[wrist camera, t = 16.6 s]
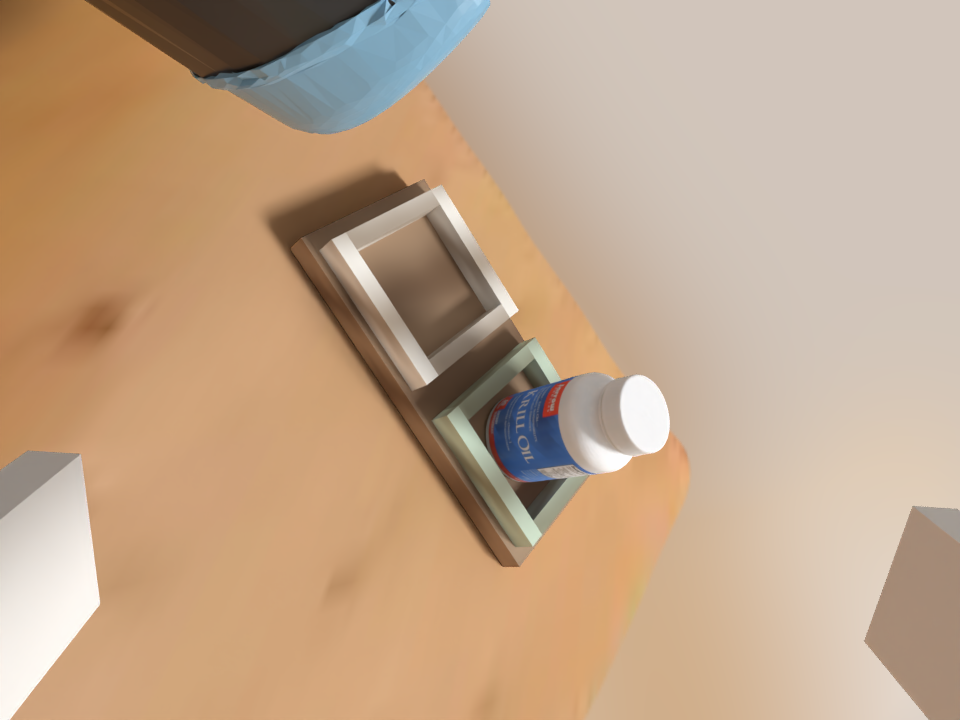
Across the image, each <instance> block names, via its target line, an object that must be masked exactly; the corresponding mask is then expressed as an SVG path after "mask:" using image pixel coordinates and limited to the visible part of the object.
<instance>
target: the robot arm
mask: <svg viewBox="0 0 960 720" xmlns="http://www.w3.org/2000/svg"><path fill="white" fill-rule="evenodd" d="M85 1H86V2H88V3H89V4H91V5H93V6H94V7H96V8H97V9H99V10H100V11H102V12H103V13H105V14H106V15H108V16H109V17H111V18H112V19H114V20H115V21H117V22H118V23H120V24H121V25H123V26H124V27H126V28H127V29H129V30H130V31H132V32H134V33H135V34H137V35H138V36H140V37H141V38H143V39H144V40H146V41H147V42H149V43H150V44H152V45H153V46H155V47H156V48H158V49H159V50H161V51H162V52H164V53H165V54H167V55H168V56H170V57H171V58H173V59H175V60H176V61H178V62H179V63H181V64H182V65H184V66H185V67H187V68H188V69H189V70H190V72H191V74H192V75H193V76H194V78H196V79H197V80H198V81H200V82H201V83H207V84H208V85H209V86H210V87H212V88H215V89H221V90H228V91H230V92H231V93H233V94H235V95H236V96H238V97H240V98H241V99H243V100H245V101H246V102H248V103H250V104H251V105H253V106H255V107H256V108H258V109H260V110H261V111H263V112H265V113H266V114H268V115H270V116H272V117H273V118H275V119H277V120H278V121H280V122H282V123H283V124H285V125H287V126H289V127H291V128H293V129H297V130H301V131H304V132H308V133H318V134H333V133H338V132H342V131H346V130H349V129H352V128H354V127H357V126H359V125H361V124H363V123H365V122H367V121H369V120H371V119H373V118H374V117H376V116H377V115H379V114H380V113H382V112H384V111H385V110H386V109H388V108H389V107H391V106H392V105H393V104H395V103H396V102H397V101H399V100H400V99H401V98H403V97H404V96H405V95H406V94H407V93H408V92H410V91H411V90H412V89H413V88H414V87H416V86H417V85H418V84H419V83H420V82H421V81H422V80H423V79H424V78H425V77H426V76H428V75H429V74H430V73H431V72H432V71H433V70H434V69H435V68H436V67H437V66H438V65H439V64H440V63H441V62H442V61H443V60H444V59H445V58H446V57H447V56H448V55H449V54H450V53H451V52H452V51H453V50H454V48H456V47H457V45H458V44H459V43H460V42H461V41H462V40H463V39H464V38H465V37H466V36H467V34H468V33H469V32H470V31H471V30H472V29H473V28H474V26H475V25H476V24H477V23H478V22H479V20H480V19H481V18H482V17H483V15H484V14H485V12H486V11H487V9H488V8H489V6H490V0H85ZM99 605H100V599H99V591H98V584H97V576H96V568H95V560H94V552H93V545H92V537H91V529H90V521H89V514H88V506H87V498H86V490H85V482H84V475H83V467H82V459H81V454H73V453H57V452H41V451H27V452H25V453H24V454H22V455H21V456H20V457H18V458H17V459H15V460H14V461H13V462H11V463H10V464H8V465H7V466H6V467H4V468H3V469H1V470H0V720H10V719H11V717H12V716H13V715H14V713H15V712H16V711H17V710H18V708H19V707H20V706H21V705H22V703H23V702H24V701H25V699H26V698H27V697H28V696H29V694H30V693H31V692H32V690H33V689H34V688H35V687H36V685H37V684H38V683H39V682H40V680H41V679H42V678H43V676H44V675H45V674H46V673H47V671H48V670H49V669H50V667H51V666H52V665H53V664H54V662H55V661H56V660H57V659H58V657H59V656H60V655H61V653H62V652H63V651H64V650H65V648H66V647H67V646H68V644H69V643H70V642H71V641H72V639H73V638H74V637H75V636H76V634H77V633H78V632H79V630H80V629H81V628H82V627H83V625H84V624H85V623H86V621H87V620H88V619H89V618H90V616H91V615H92V614H93V613H94V611H95V610H96V609H97V607H98V606H99ZM865 643H866V644H867V645H868V646H869V647H870V649H871V650H872V651H873V652H874V653H875V655H876V656H877V657H878V658H879V660H880V661H881V662H882V663H883V665H884V666H885V667H886V668H887V669H888V670H889V672H890V673H891V674H892V675H893V677H894V678H895V679H896V680H897V682H898V683H899V684H900V685H901V686H902V687H903V689H904V690H905V691H906V692H907V693H908V695H909V696H910V697H911V699H912V700H913V701H914V702H915V703H916V705H917V706H918V707H919V708H920V709H921V711H922V712H923V713H924V714H925V716H926V717H927V718H928V719H929V720H960V511H959V510H958V509H950V508H934V507H917V506H913V507H912V509H911V512H910V515H909V518H908V521H907V523H906V527H905V529H904V532H903V534H902V538H901V540H900V543H899V546H898V549H897V551H896V554H895V557H894V560H893V562H892V565H891V568H890V571H889V573H888V577H887V579H886V582H885V585H884V587H883V590H882V593H881V596H880V599H879V601H878V604H877V607H876V610H875V613H874V615H873V618H872V621H871V624H870V626H869V630H868V632H867V635H866V637H865Z"/></svg>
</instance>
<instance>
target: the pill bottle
mask: <svg viewBox="0 0 960 720" xmlns="http://www.w3.org/2000/svg"><path fill="white" fill-rule="evenodd" d="M669 426H670V424H669V412H668V408H667V404H666V402H665V399H664V397H663V395H662V393H661V391H660V390H659V388H658V387H657V386H656V384H655V383H654V382H653V381H652V380H650V379H649V378H647V377H645V376H643V375H632V376H627V377H623V378H617V379H614V378H612V377H610V376H609V375H606V374H603V373H595V372H594V373H587V374H582V375H579V376H575V377H571V378H568V379H565V380H561V381H558V382H554V383H551V384H547V385H544V386H540V387H537V388H534V389H530V390H527V391H523V392H520V393H516V394H513V395H510V396H507V397H505V398H503V399H502V400H500V401H499V402H498V403H497V404H496V405H495V406H494V407H493V409H492V411H491V413H490V415H489V417H488V421H487V425H486V444H487V448H488V452H489V454H490V455H491V457H492V458H493V460H494V461H495V463H496V464H497V466H498V467H499V469H500V471H501V472H502V473H503V474H504V475H505V476H507V477H508V478H510V479H512V480H515V481H518V482H536V481H544V480H552V479H560V478H569V477H577V476H585V475H594V474H601V473H608V472H613V471H616V470H618V469H620V468H622V467H623V466H625V465H626V464H627V463H628V462H629V460H630V459H631V458H632V456H640V455H644V454H650V453H654V452H657V451H658V450H660V449H661V448H662V447H663V446H664V444H665V442H666V440H667V438H668V434H669Z"/></svg>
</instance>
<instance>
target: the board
mask: <svg viewBox="0 0 960 720" xmlns="http://www.w3.org/2000/svg"><path fill="white" fill-rule="evenodd" d="M290 249H291V251H292V252H293V254H294V255H295V257H296V258H297V260H298V261H299V263H300V264H301V266H302V267H303V269H304V270H305V272H306V273H307V275H308V276H309V278H310V279H311V281H312V282H313V284H314V285H315V287H316V288H317V290H318V291H319V293H320V294H321V296H322V297H323V299H324V300H325V302H326V303H327V305H328V306H329V308H330V309H331V311H332V312H333V314H334V315H335V317H336V318H337V320H338V321H339V323H340V324H341V326H342V327H343V329H344V330H345V332H346V333H347V335H348V336H349V338H350V339H351V341H352V342H353V344H354V345H355V347H356V348H357V350H358V351H359V352H360V354H361V355H362V357H363V358H364V360H365V361H366V363H367V364H368V366H369V367H370V369H371V370H372V372H373V373H374V375H375V376H376V378H377V379H378V381H379V382H380V384H381V385H382V387H383V388H384V390H385V391H386V393H387V394H388V396H389V397H390V399H391V400H392V402H393V403H394V405H395V406H396V408H397V409H398V411H399V412H400V414H401V415H402V417H403V418H404V420H405V421H406V423H407V424H408V426H409V427H410V429H411V430H412V432H413V433H414V435H415V436H416V438H417V439H418V441H419V442H420V444H421V445H422V447H423V448H424V450H425V451H426V453H427V454H428V456H429V457H430V458H431V460H432V461H433V463H434V464H435V466H436V467H437V469H438V470H439V472H440V473H441V475H442V476H443V478H444V479H445V481H446V482H447V484H448V485H449V487H450V488H451V490H452V491H453V493H454V494H455V496H456V497H457V499H458V500H459V502H460V503H461V505H462V506H463V508H464V509H465V511H466V512H467V514H468V515H469V517H470V518H471V520H472V521H473V523H474V524H475V526H476V527H477V529H478V530H479V532H480V533H481V535H482V536H483V538H484V539H485V541H486V542H487V544H488V545H489V547H490V548H491V550H492V551H493V553H494V554H495V556H496V557H497V559H498V560H499V561H500V563H501V564H502V566H503V567H520V566H521V564H522V563H523V562H524V560H525V559H526V558H527V557H528V555H529V554H530V553H531V551H532V550H533V549H534V547H535V546H536V545H537V544H538V542H539V541H540V540H541V538H542V537H543V536H544V534H545V533H546V532H547V530H548V529H549V528H550V527H551V525H552V524H553V523H554V521H555V520H556V519H557V517H558V516H559V515H560V514H561V512H562V511H563V510H564V508H565V507H566V506H567V504H568V503H569V502H570V501H571V499H572V498H573V497H574V495H575V494H576V493H577V491H578V490H579V489H580V488H581V486H582V485H583V484H584V482H585V481H586V480H587V478H588V477H589V476H590V475H585V476H577V477H569V478H560V479H552V480H544V481H536V482H518V481H515V480H512V479H510V478H508V477H507V476H505V475H504V474H503V473H502V472H501V471H500V469H499V467H498V466H497V464H496V463H495V461H494V460H493V458H492V457H491V455H490V454H489V452H488V448H487V444H486V425H487V421H488V417H489V415H490V413H491V411H492V409H493V407H494V406H495V405H496V404H497V403H498V402H499V401H500V400H502V399H503V398H505V397H507V396H510V395H513V394H516V393H520V392H523V391H527V390H530V389H534V388H537V387H540V386H544V385H547V384H551V383H554V382H558V381H561V379H560V377H559V375H558V374H557V372H556V371H555V369H554V367H553V366H552V364H551V362H550V361H549V359H548V358H547V356H546V354H545V353H544V351H543V349H542V348H541V346H540V344H539V343H538V341H537V340H536V338H535V337H534V338H532V339H529V340H527V341H524V340H523V338H522V337H521V335H520V333H519V332H518V330H517V329H516V327H515V325H514V324H513V322H512V320H511V319H510V317H511V316H512V315H514V314H515V313H516V312H517V311H519V310H518V309H517V307H516V305H515V304H514V302H513V300H512V299H511V297H510V296H509V294H508V292H507V291H506V289H505V287H504V286H503V284H502V282H501V281H500V279H499V278H498V276H497V274H496V273H495V271H494V269H493V268H492V266H491V265H490V263H489V261H488V260H487V258H486V256H485V255H484V253H483V251H482V250H481V248H480V247H479V245H478V243H477V242H476V240H475V238H474V237H473V235H472V234H471V232H470V230H469V229H468V227H467V225H466V224H465V222H464V220H463V219H462V217H461V216H460V214H459V212H458V211H457V209H456V207H455V206H454V204H453V203H452V201H451V199H450V198H449V196H448V194H447V193H446V191H445V190H444V188H443V186H442V185H439V186H437V187H435V188H433V189H430V188H429V186H428V184H427V183H426V181H425V179H423V180H421V181H419V182H417V183H415V184H413V185H410V186H408V187H406V188H404V189H402V190H400V191H398V192H396V193H394V194H392V195H390V196H387V197H385V198H383V199H381V200H379V201H377V202H375V203H373V204H371V205H369V206H367V207H364V208H362V209H360V210H358V211H356V212H354V213H352V214H350V215H348V216H346V217H343V218H341V219H339V220H337V221H335V222H333V223H331V224H329V225H327V226H325V227H323V228H320V229H318V230H316V231H314V232H312V233H310V234H308V235H306V236H304V237H302V238H300V239H299V240H298V241H297V242H296V243H295V244H294V245H293V246H292V247H291V248H290Z"/></svg>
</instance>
